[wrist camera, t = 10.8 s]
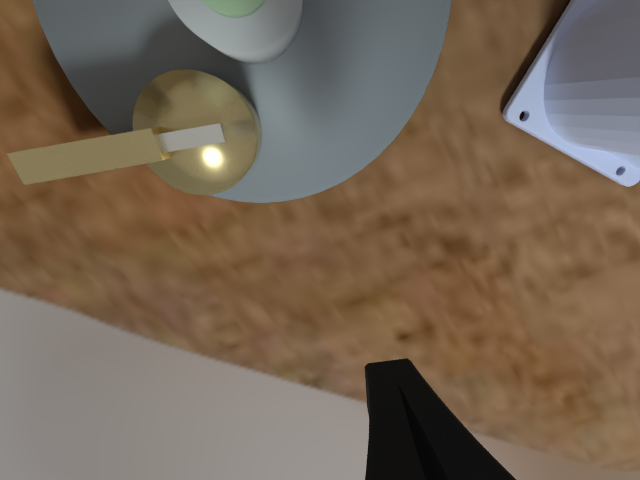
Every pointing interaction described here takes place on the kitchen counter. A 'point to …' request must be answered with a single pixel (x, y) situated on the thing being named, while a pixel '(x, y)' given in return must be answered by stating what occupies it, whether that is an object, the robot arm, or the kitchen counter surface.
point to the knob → (166, 138)
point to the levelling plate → (263, 72)
